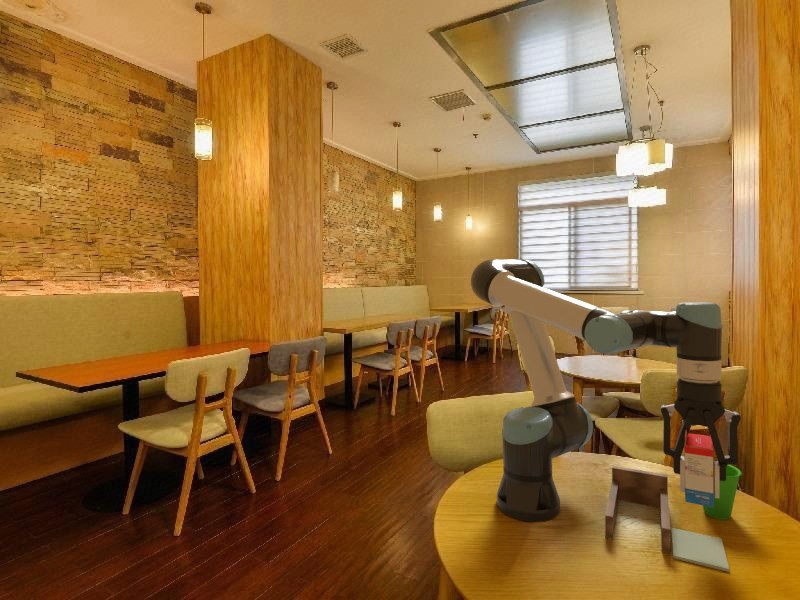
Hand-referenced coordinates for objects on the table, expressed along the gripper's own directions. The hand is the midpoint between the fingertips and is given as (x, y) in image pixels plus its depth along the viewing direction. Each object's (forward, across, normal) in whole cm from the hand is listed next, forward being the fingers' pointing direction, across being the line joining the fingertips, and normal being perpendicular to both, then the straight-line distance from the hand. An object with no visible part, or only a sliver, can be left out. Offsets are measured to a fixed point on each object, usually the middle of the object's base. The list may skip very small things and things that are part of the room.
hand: (698, 491), depth 90 cm
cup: (+12, +5, +18) cm, 22 cm away
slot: (+12, -11, +6) cm, 18 cm away
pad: (+12, 0, 0) cm, 12 cm away
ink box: (+2, 0, +1) cm, 2 cm away
